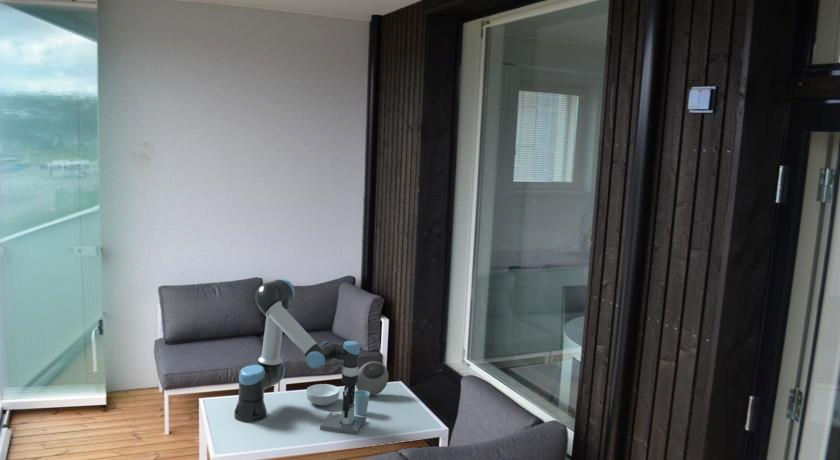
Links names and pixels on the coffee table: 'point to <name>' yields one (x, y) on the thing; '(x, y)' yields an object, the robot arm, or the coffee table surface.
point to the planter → (372, 378)
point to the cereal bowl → (322, 394)
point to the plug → (351, 417)
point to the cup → (361, 402)
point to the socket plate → (334, 424)
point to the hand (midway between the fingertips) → (347, 421)
